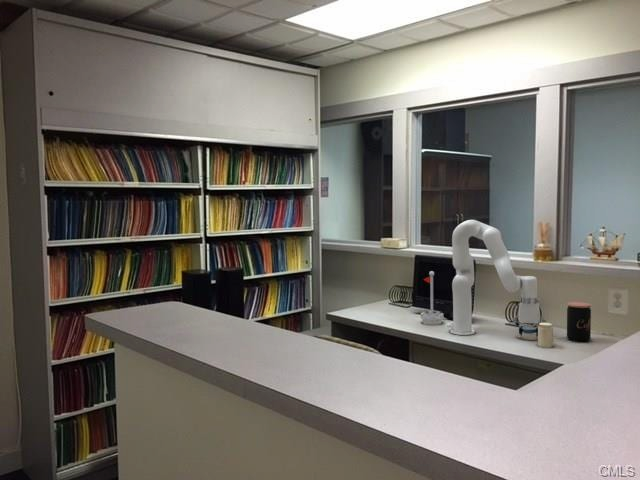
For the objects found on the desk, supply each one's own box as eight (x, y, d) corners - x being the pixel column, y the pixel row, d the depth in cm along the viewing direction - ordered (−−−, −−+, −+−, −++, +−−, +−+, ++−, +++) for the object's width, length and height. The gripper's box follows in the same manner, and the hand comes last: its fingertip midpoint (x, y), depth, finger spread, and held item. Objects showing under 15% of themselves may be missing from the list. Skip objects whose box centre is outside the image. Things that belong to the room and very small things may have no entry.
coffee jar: (577, 343, 260) (578, 306, 259) (561, 338, 270) (562, 302, 269) (595, 341, 263) (596, 305, 262) (579, 336, 273) (579, 301, 272)
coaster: (514, 338, 271) (514, 337, 271) (521, 334, 280) (521, 333, 280) (536, 341, 265) (536, 340, 264) (543, 337, 273) (543, 336, 273)
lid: (531, 334, 267) (531, 330, 267) (519, 332, 273) (519, 328, 273) (539, 331, 271) (539, 328, 271) (527, 329, 277) (527, 326, 277)
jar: (536, 346, 256) (536, 324, 256) (538, 343, 262) (539, 321, 261) (551, 348, 253) (551, 326, 252) (553, 344, 259) (553, 323, 258)
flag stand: (446, 321, 313) (445, 270, 311) (440, 326, 302) (439, 273, 300) (424, 319, 319) (423, 269, 317) (417, 324, 308) (417, 272, 306)
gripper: (547, 300, 272) (547, 334, 273) (510, 298, 277) (510, 332, 278) (548, 302, 264) (548, 338, 266) (510, 301, 270) (511, 336, 271)
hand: (529, 335), depth 272 cm, fingers closed on lid, 6 cm apart
